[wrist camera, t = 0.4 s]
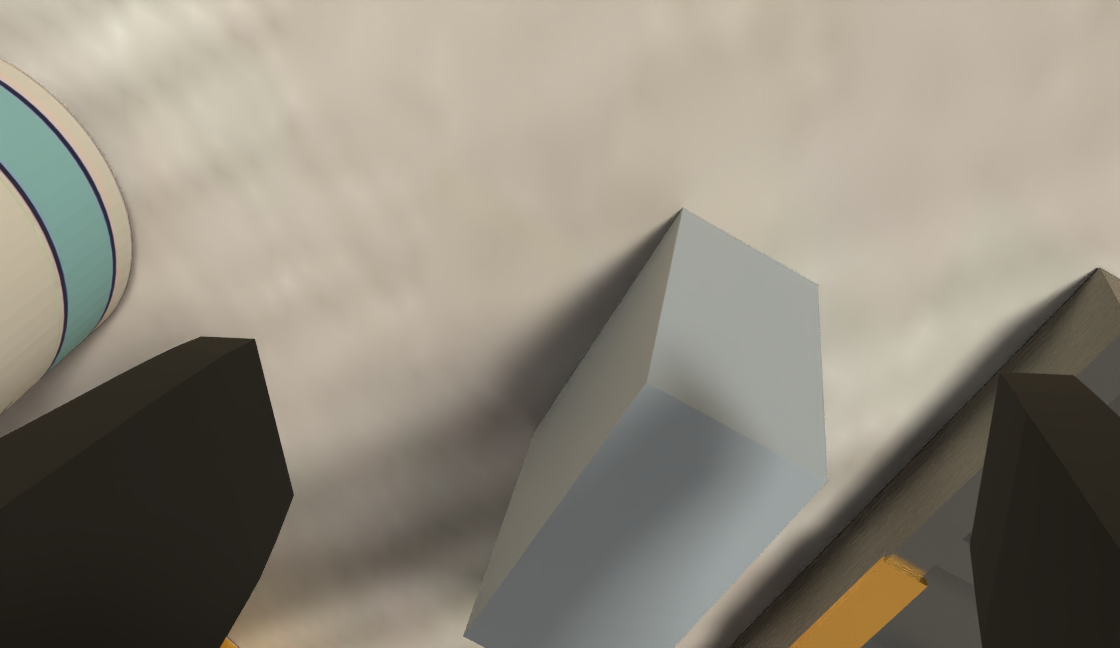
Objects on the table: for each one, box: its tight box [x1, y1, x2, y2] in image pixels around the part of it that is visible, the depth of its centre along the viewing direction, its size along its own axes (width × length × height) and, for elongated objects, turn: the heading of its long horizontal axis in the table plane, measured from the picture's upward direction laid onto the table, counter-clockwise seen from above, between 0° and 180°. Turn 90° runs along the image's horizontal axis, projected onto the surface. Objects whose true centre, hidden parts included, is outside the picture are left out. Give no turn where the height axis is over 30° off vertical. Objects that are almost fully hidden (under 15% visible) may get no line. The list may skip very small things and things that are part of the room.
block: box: [463, 208, 828, 648], centre depth 19 cm, size 6×3×6 cm, turn 153°
